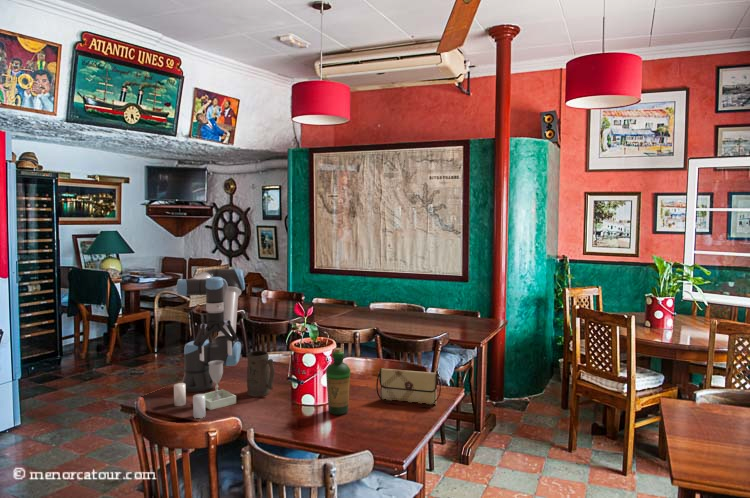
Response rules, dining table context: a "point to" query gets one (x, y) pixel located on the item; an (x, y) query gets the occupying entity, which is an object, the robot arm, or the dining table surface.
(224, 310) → the robot arm
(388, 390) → the clutch purse
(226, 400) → the tray
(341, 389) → the bottle
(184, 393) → the white upright cylinder
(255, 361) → the beer stein
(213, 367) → the chalice
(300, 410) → the dining table surface
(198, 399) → the pillar candle
